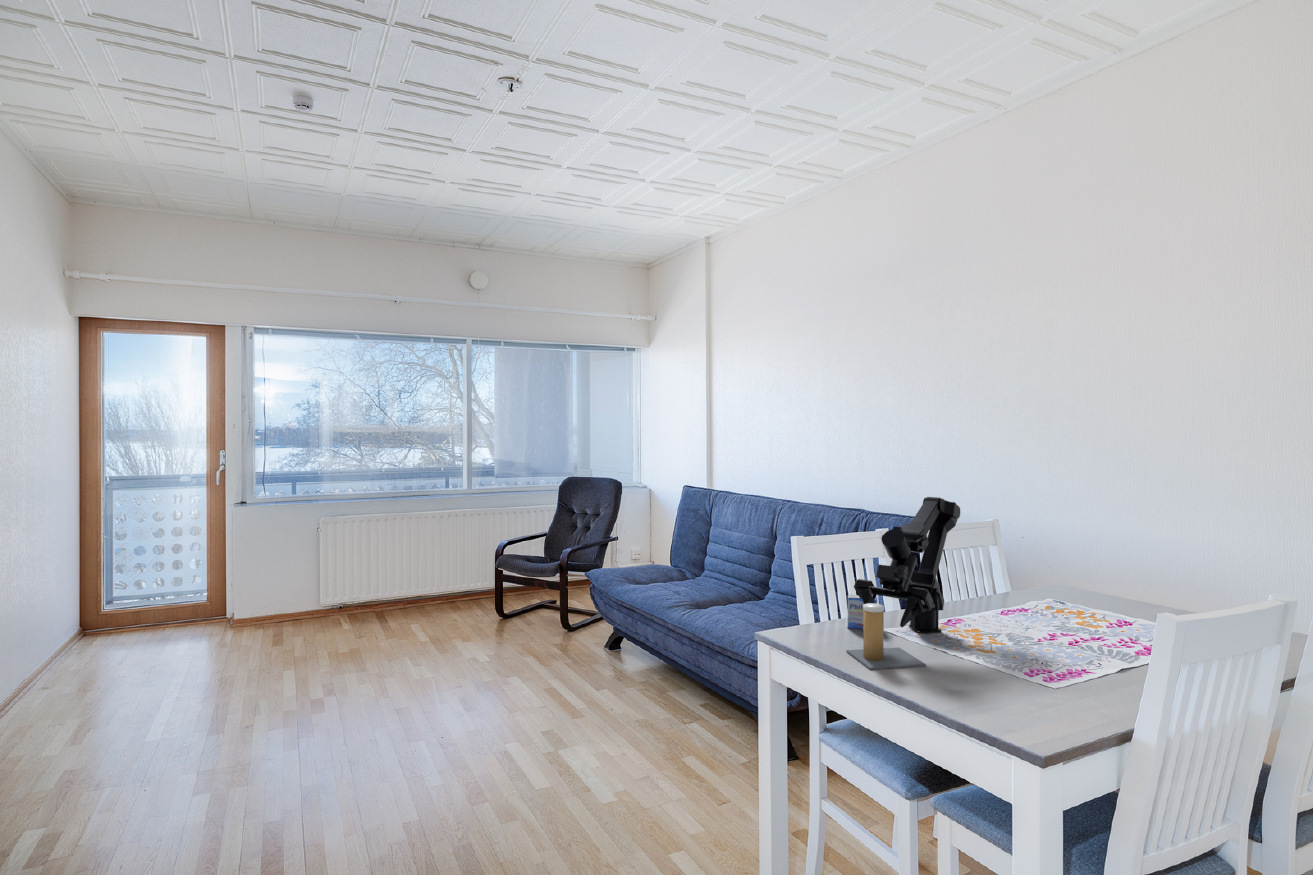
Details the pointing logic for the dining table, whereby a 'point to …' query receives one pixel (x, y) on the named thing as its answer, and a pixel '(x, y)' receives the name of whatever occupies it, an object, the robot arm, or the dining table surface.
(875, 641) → the pill bottle
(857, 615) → the medicine box
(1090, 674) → the dining table surface
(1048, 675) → the dining table surface
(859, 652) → the rubber mat
